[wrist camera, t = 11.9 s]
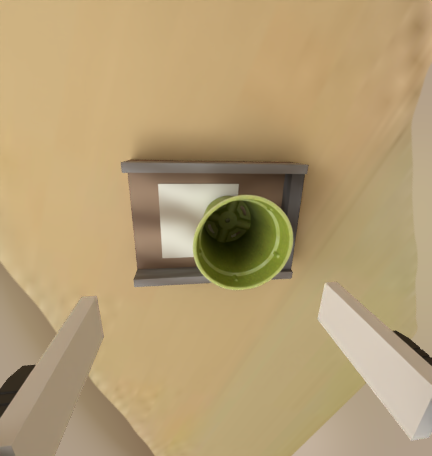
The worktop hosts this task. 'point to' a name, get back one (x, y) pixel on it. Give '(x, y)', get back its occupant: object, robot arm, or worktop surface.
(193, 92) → the worktop surface
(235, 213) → the plant pot
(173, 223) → the dock
